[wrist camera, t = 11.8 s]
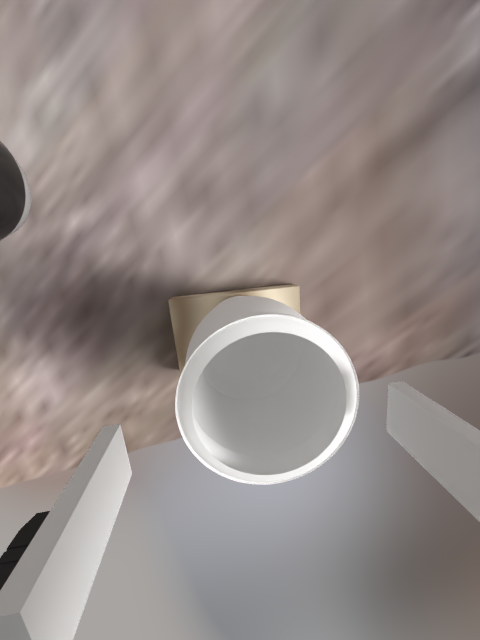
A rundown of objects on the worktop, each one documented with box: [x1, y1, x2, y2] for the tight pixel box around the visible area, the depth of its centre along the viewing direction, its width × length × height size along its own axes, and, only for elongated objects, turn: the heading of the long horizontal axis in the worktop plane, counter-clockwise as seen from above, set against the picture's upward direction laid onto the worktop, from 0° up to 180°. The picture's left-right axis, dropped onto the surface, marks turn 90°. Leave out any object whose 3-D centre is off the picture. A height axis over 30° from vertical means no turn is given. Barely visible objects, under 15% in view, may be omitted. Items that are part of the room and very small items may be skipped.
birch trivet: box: [168, 284, 300, 376], centre depth 30 cm, size 14×9×2 cm, turn 96°
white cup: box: [175, 296, 359, 485], centre depth 22 cm, size 11×10×15 cm
